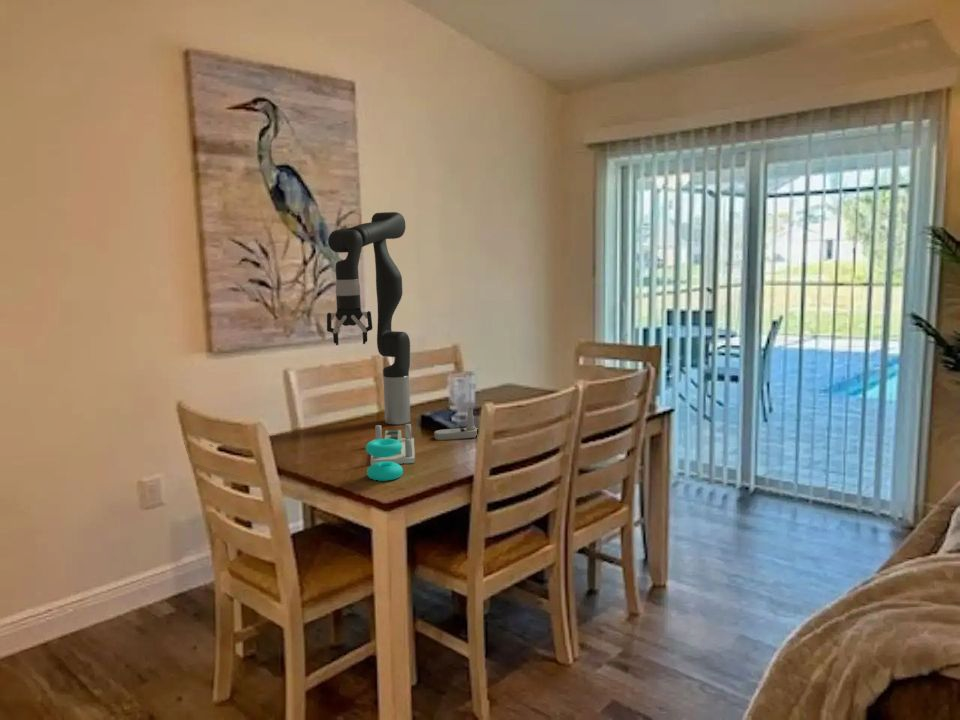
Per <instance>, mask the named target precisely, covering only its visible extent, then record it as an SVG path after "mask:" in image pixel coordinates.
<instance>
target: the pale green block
mask: <svg viewBox="0 0 960 720" xmlns="http://www.w3.org/2000/svg"><path fill="white" fill-rule="evenodd" d="M402 438H403V437H402V429H388V430H385V431H384V439H395V440H398V441H400V442H401V444H402ZM398 454H401V451H400V452H399V453H398Z"/></svg>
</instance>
